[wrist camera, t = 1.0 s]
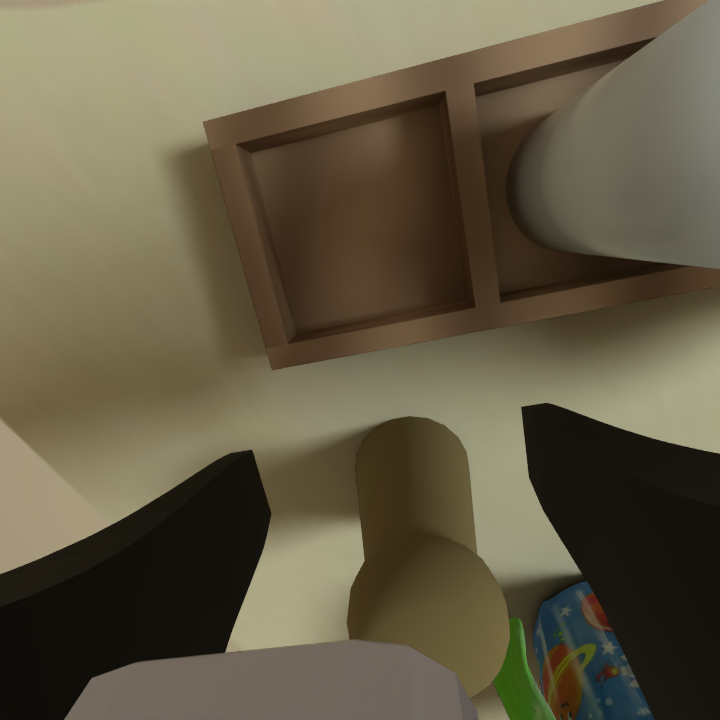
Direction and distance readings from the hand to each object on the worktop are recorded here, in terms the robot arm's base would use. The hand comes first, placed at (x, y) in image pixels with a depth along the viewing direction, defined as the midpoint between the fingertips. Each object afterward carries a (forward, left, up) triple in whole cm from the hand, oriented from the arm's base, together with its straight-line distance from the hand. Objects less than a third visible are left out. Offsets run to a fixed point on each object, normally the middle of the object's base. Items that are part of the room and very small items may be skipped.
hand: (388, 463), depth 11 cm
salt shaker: (-9, -6, -10) cm, 15 cm away
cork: (0, +6, -11) cm, 12 cm away
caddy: (-5, -6, -10) cm, 13 cm away
